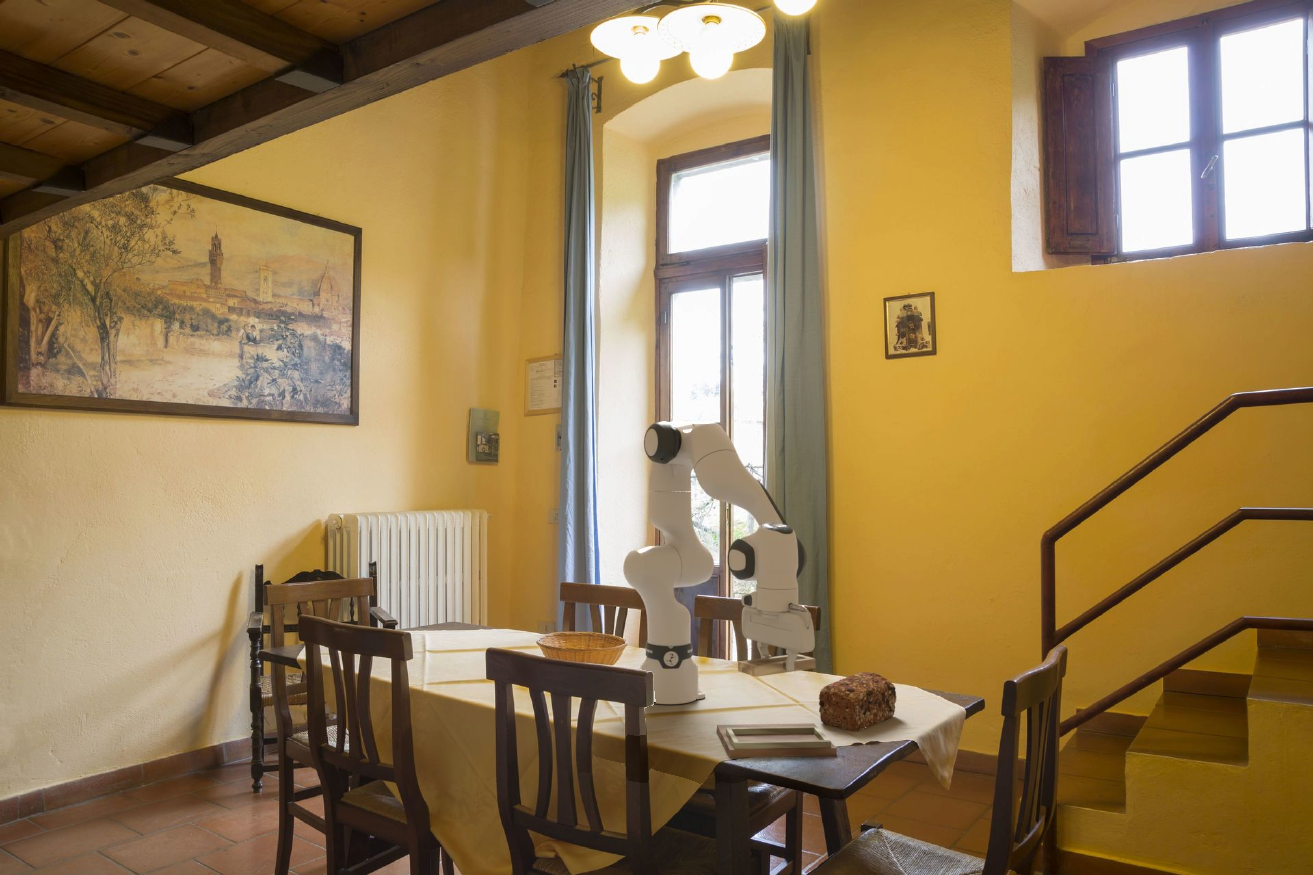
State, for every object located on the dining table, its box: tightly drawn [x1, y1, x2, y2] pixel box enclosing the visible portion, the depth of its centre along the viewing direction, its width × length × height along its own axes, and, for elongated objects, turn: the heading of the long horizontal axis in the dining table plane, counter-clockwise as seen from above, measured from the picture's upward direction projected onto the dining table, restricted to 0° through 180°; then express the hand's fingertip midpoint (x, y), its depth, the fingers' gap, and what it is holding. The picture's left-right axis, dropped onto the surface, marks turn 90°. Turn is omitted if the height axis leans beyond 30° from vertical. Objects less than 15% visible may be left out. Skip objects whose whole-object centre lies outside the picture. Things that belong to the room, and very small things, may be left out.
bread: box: [818, 671, 897, 732], centre depth 205 cm, size 19×11×10 cm, turn 136°
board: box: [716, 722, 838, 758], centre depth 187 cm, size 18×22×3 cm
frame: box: [737, 653, 817, 677], centre depth 184 cm, size 6×16×2 cm, turn 121°
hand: (777, 666), depth 184 cm, fingers closed on frame, 6 cm apart
